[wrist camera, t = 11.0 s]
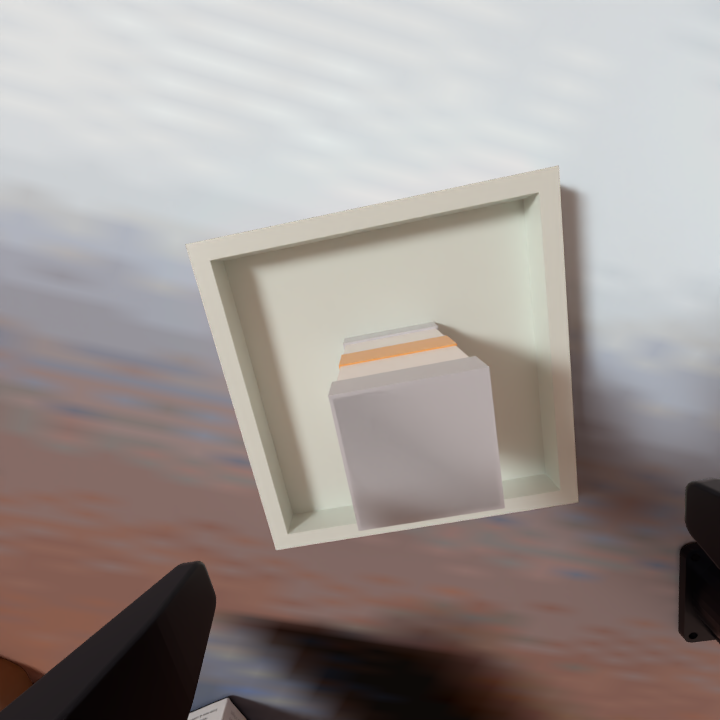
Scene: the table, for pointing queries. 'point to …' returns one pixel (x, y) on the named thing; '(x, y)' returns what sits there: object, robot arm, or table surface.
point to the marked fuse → (415, 428)
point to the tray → (391, 311)
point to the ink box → (217, 712)
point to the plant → (12, 682)
